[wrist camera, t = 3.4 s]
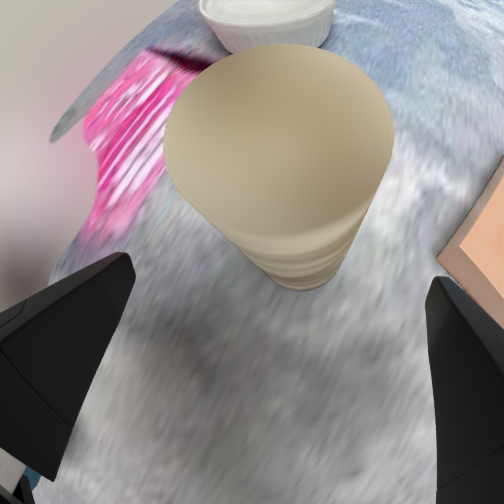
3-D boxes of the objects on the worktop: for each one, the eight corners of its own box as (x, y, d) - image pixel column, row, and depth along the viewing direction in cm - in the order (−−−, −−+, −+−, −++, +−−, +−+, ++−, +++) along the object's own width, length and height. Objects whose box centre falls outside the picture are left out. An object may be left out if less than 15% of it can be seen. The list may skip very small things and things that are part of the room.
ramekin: (216, 13, 25) (201, -24, 20) (324, -1, 23) (321, -40, 18) (213, 83, 23) (191, 39, 18) (351, 67, 21) (353, 18, 16)
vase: (301, 308, 18) (273, 292, 5) (242, 249, 19) (127, 138, 7) (359, 248, 18) (435, 120, 5) (300, 193, 19) (272, 22, 7)
